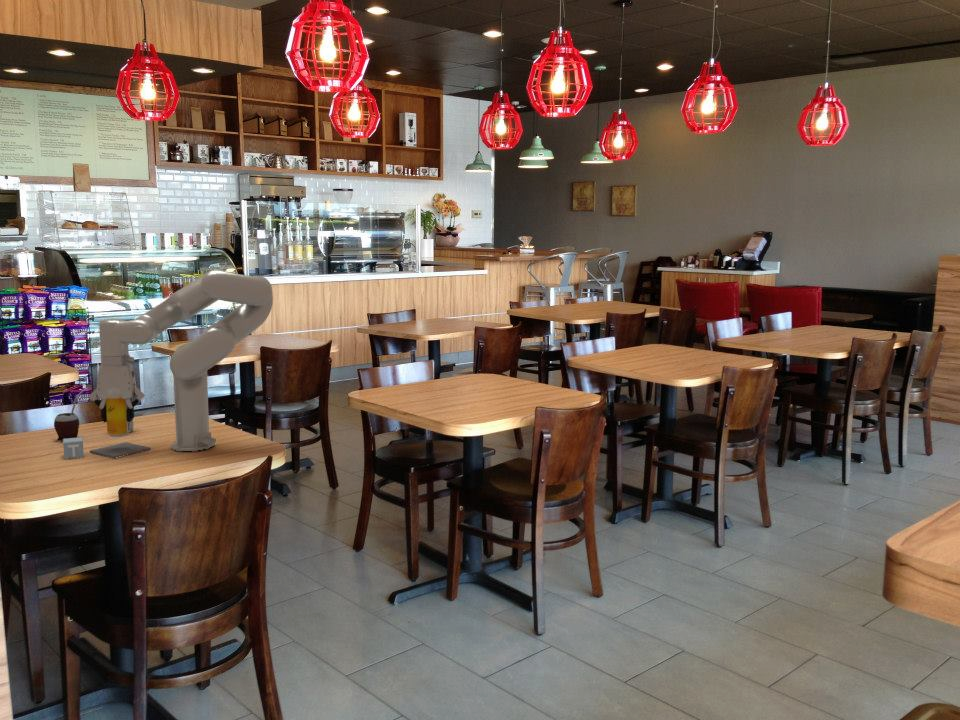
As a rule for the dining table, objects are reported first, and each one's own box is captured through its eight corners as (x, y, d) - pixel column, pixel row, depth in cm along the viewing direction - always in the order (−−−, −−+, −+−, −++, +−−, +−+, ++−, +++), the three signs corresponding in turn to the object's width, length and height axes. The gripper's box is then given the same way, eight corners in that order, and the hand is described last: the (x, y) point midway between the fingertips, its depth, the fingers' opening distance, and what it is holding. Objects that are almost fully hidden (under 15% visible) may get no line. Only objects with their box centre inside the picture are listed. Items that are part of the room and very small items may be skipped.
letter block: (64, 455, 235) (63, 438, 234) (83, 453, 237) (82, 437, 237) (64, 459, 231) (63, 442, 230) (83, 457, 233) (82, 441, 232)
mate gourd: (50, 442, 250) (47, 394, 248) (64, 436, 258) (60, 389, 255) (74, 442, 250) (71, 394, 247) (87, 436, 258) (84, 390, 255)
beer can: (108, 433, 241) (106, 383, 239) (130, 432, 243) (128, 383, 241) (106, 438, 236) (103, 387, 233) (128, 436, 237) (126, 386, 235)
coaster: (150, 449, 242) (150, 447, 242) (114, 458, 232) (114, 456, 232) (126, 443, 248) (125, 442, 248) (89, 452, 238) (89, 450, 238)
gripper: (149, 359, 241) (151, 418, 244) (88, 359, 239) (91, 418, 241) (142, 362, 234) (145, 423, 236) (79, 363, 231) (82, 424, 234)
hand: (118, 420), depth 239 cm, fingers closed on beer can, 6 cm apart
